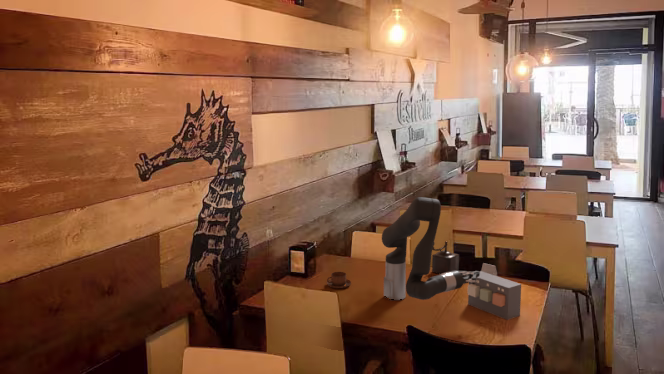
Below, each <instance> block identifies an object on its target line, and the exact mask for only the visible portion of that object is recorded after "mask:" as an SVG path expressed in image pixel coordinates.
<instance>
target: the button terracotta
mask: <svg viewBox="0 0 664 374" xmlns="http://www.w3.org/2000/svg"><path fill="white" fill-rule="evenodd" d="M505 298H506V295H504V294H501V293H498V292H497V293H494V294H493V301H492V304H494V305H497V306H500V307H502V306H505Z"/></svg>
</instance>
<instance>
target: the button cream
mask: <svg viewBox="0 0 664 374" xmlns="http://www.w3.org/2000/svg"><path fill="white" fill-rule="evenodd" d="M467 295H470V296H473V297H478V296H480V286H478V285H476V284H469V283H468V284H467Z"/></svg>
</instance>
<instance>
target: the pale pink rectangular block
mask: <svg viewBox="0 0 664 374" xmlns="http://www.w3.org/2000/svg"><path fill="white" fill-rule="evenodd" d="M481 266H482V267H481V270H480V271H482V272H485V273H488V274H491V275H495V276H498V271H497V266H496V265H492V264H490V263H489V264H488V263H484V262H483V263H482V265H481Z"/></svg>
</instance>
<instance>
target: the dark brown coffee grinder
mask: <svg viewBox="0 0 664 374" xmlns="http://www.w3.org/2000/svg"><path fill="white" fill-rule="evenodd" d="M435 244H436V242H435V241H434V244H433V248H432V251H435V252H436V253H434V254H432V255H431V264H432V265H431V268H432V270H431V272H432V273H434V274H437V275H440V274H442V273H446V272H450V271H454V270H456V271H460V270H459V267H460V253H459V254H458V253H454V252H451V251H449V250H448V241H447V240H446V241H445V242H444V245H443V246H442V247H440V248H437V249H436V248H435V247H434V246H435ZM443 249H444V250H443Z"/></svg>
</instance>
